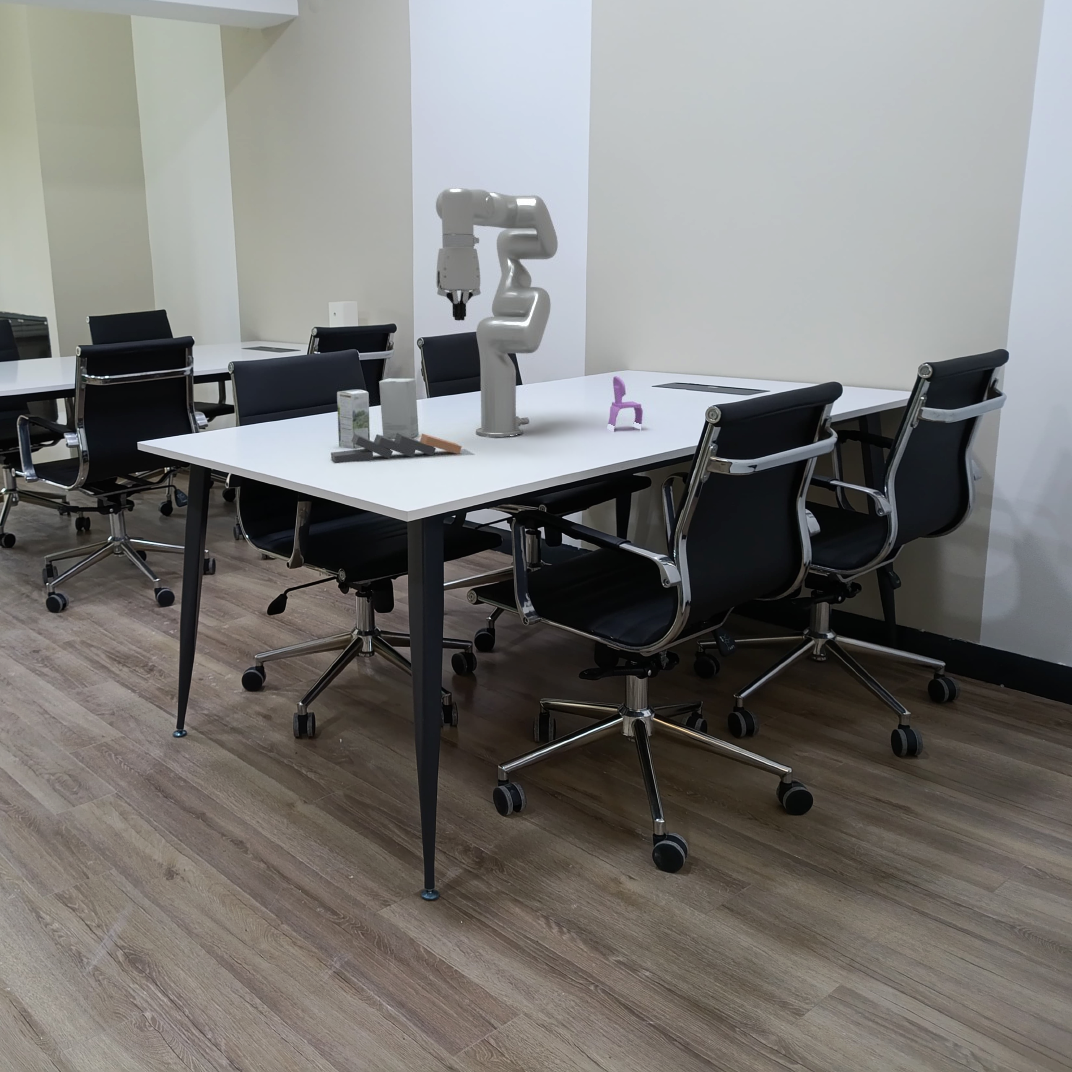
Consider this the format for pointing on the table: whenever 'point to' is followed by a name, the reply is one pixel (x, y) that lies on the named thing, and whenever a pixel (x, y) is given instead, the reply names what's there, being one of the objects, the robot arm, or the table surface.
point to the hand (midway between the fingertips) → (459, 320)
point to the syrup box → (352, 416)
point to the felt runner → (420, 455)
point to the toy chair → (622, 403)
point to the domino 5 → (440, 443)
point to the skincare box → (399, 407)
